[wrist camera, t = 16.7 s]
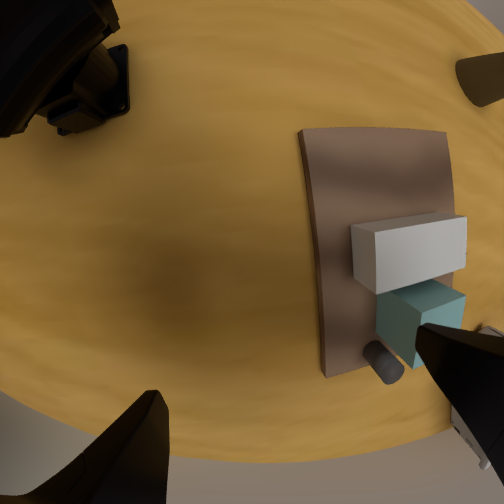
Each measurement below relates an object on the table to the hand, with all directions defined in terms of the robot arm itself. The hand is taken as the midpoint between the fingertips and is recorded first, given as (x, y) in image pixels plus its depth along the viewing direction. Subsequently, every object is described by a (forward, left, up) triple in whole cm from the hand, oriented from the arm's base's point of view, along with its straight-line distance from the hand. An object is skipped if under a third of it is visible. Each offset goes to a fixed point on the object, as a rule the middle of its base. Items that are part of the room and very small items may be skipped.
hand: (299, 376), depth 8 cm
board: (+1, +11, -13) cm, 17 cm away
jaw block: (+5, +11, -11) cm, 17 cm away
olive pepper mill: (-16, +27, -13) cm, 34 cm away
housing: (0, +11, -11) cm, 16 cm away
